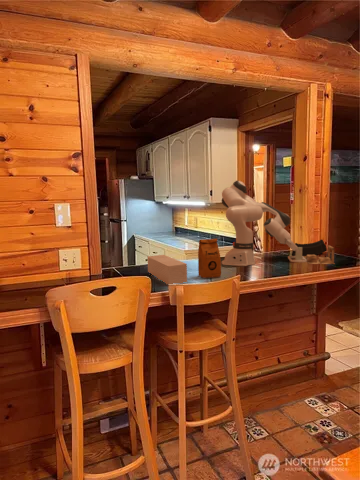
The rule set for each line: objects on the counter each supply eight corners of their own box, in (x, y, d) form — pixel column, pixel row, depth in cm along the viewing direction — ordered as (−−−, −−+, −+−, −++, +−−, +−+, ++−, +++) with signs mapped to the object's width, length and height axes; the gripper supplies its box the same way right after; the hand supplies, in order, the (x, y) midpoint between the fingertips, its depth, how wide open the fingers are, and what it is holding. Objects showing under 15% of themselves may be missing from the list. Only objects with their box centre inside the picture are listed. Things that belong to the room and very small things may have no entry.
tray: (290, 263, 215) (290, 260, 215) (287, 259, 229) (287, 256, 228) (306, 263, 213) (306, 260, 213) (302, 259, 227) (302, 256, 227)
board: (295, 261, 220) (296, 247, 219) (295, 260, 222) (295, 247, 221) (302, 261, 220) (302, 247, 218) (301, 260, 221) (301, 247, 220)
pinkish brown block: (148, 273, 200) (147, 256, 198) (164, 271, 204) (163, 254, 203) (169, 286, 171) (168, 266, 170) (187, 283, 176) (186, 263, 174)
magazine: (291, 245, 232) (323, 231, 241) (288, 245, 235) (319, 230, 244) (297, 267, 236) (327, 252, 245) (293, 266, 239) (324, 251, 248)
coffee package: (222, 278, 184) (222, 239, 181) (201, 279, 181) (200, 240, 178) (217, 273, 193) (216, 237, 190) (197, 275, 191) (196, 238, 188)
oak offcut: (308, 258, 211) (308, 255, 211) (306, 257, 215) (306, 254, 215) (316, 258, 211) (316, 255, 211) (314, 257, 215) (314, 254, 215)
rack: (308, 265, 209) (308, 248, 207) (304, 261, 220) (305, 245, 218) (335, 265, 206) (335, 248, 205) (330, 262, 217) (330, 245, 215)
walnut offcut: (307, 262, 212) (307, 258, 211) (305, 261, 217) (305, 257, 216) (317, 262, 211) (317, 258, 210) (315, 261, 216) (315, 257, 215)
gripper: (289, 236, 210) (305, 251, 209) (285, 232, 230) (299, 246, 229) (282, 243, 211) (298, 258, 211) (278, 239, 231) (293, 252, 230)
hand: (299, 252), depth 220 cm, fingers open, 7 cm apart
